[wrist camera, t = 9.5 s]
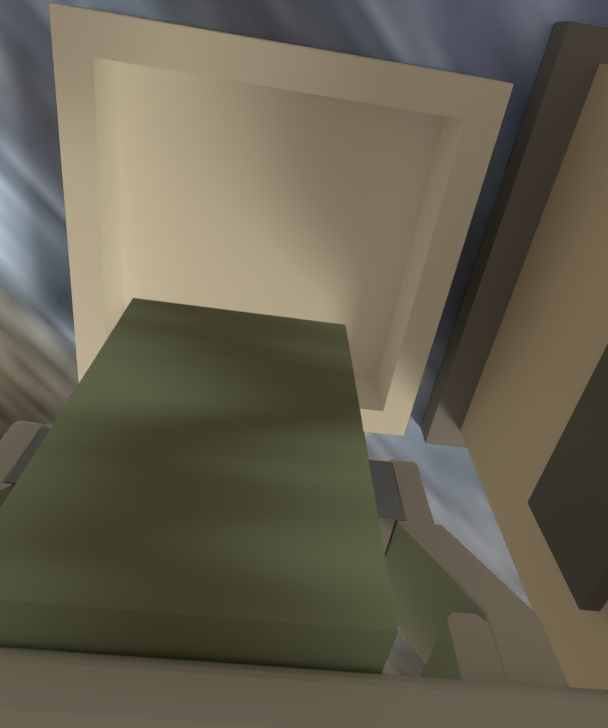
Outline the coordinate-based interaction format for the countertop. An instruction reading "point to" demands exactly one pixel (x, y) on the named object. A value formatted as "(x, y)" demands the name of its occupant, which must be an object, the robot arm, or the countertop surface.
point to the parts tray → (268, 186)
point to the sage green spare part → (203, 501)
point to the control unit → (545, 354)
